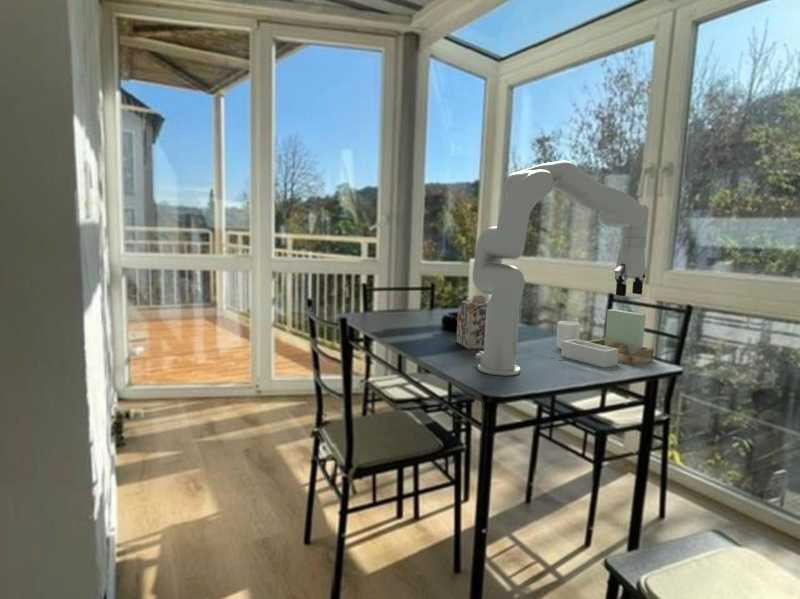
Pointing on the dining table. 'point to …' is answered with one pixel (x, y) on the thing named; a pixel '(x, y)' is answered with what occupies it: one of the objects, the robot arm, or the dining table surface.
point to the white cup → (567, 331)
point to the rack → (631, 354)
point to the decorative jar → (472, 322)
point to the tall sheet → (625, 329)
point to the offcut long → (623, 352)
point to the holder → (590, 352)
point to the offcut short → (618, 346)
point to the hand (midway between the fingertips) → (628, 294)
